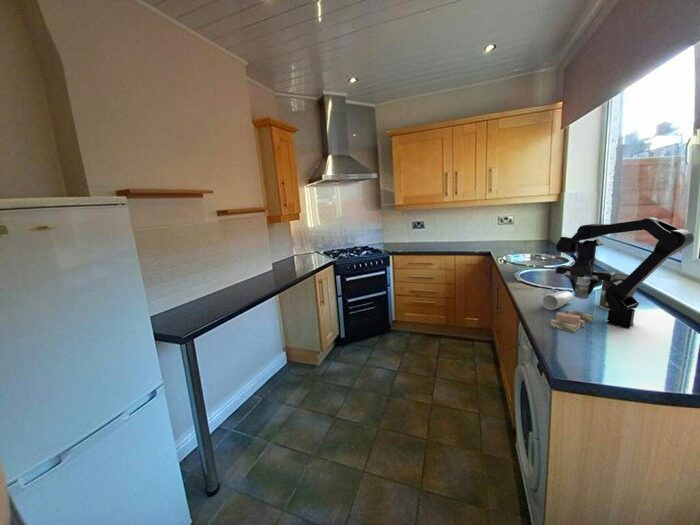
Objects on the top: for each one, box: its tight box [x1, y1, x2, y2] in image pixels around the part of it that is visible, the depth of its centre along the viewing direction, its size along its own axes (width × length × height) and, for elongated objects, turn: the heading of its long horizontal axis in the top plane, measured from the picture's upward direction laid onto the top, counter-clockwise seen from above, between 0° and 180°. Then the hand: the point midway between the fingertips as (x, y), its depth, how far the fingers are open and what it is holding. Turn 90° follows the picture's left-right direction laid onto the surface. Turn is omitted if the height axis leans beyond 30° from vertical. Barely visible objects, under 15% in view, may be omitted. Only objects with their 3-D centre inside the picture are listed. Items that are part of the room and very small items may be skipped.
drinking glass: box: [541, 290, 574, 311], centre depth 134 cm, size 7×7×15 cm
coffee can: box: [598, 272, 630, 311], centre depth 129 cm, size 10×10×14 cm
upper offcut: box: [555, 311, 581, 325], centre depth 114 cm, size 7×3×2 cm, turn 50°
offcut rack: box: [550, 309, 594, 334], centre depth 117 cm, size 8×16×2 cm, turn 124°
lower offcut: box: [564, 322, 581, 332], centre depth 114 cm, size 7×3×2 cm, turn 38°
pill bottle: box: [573, 276, 591, 300], centre depth 125 cm, size 5×5×8 cm
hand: (581, 292), depth 125 cm, fingers closed on pill bottle, 5 cm apart
